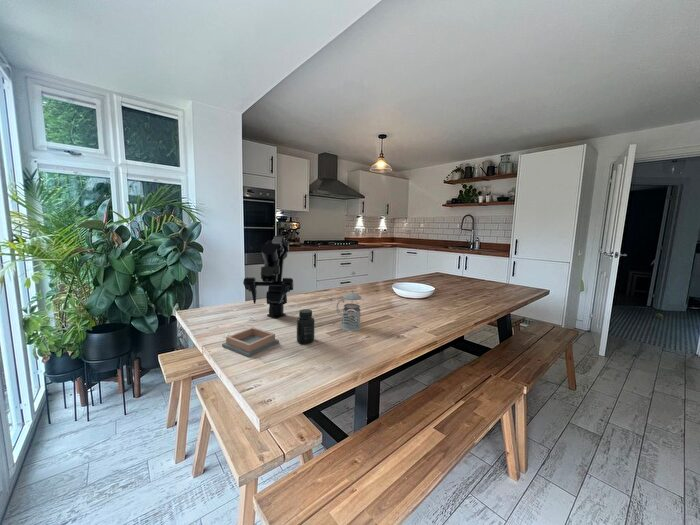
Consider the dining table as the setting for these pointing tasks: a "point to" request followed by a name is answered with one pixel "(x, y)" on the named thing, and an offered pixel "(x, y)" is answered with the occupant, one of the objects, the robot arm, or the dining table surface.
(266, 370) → the dining table surface
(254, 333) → the dock
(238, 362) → the dining table surface
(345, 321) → the french press
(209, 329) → the dining table surface
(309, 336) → the supplement bottle
